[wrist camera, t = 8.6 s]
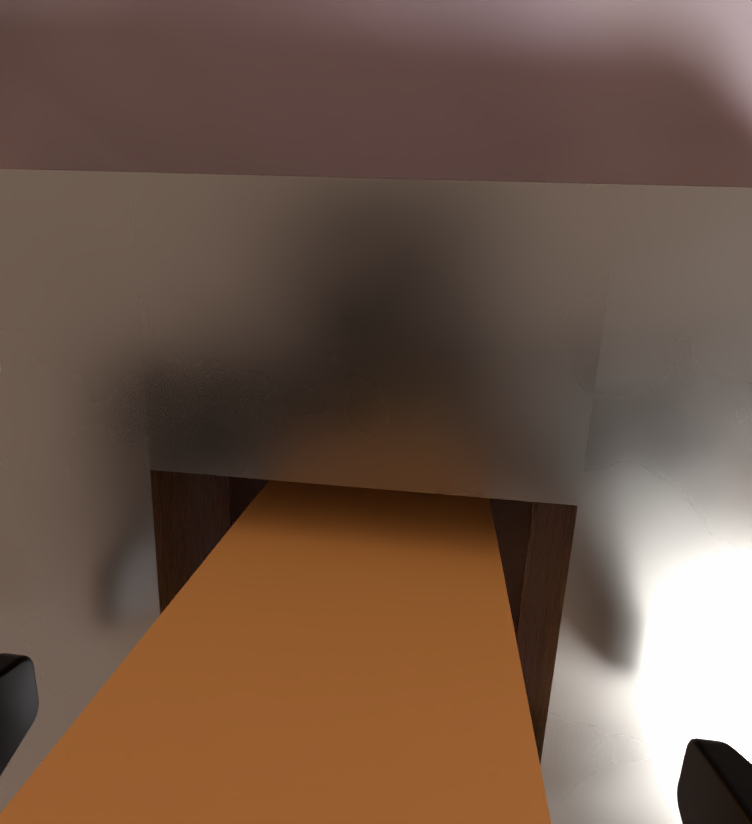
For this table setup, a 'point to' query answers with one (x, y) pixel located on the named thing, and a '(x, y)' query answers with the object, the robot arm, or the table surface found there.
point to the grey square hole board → (393, 424)
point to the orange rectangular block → (315, 680)
